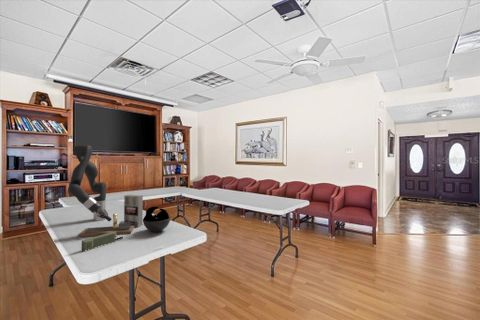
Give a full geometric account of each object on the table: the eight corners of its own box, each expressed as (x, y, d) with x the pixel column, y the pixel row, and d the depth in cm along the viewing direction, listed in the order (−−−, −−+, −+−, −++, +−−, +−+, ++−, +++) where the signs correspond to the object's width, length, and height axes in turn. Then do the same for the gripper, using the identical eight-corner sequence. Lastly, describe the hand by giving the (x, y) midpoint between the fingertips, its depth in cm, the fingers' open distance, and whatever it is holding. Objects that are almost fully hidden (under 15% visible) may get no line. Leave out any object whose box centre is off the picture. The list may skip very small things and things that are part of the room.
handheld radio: (80, 250, 139) (121, 238, 160) (83, 252, 138) (123, 239, 158) (81, 239, 139) (121, 229, 160) (83, 241, 137) (124, 230, 158)
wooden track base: (85, 231, 174) (85, 226, 174) (134, 227, 183) (134, 223, 183) (78, 237, 161) (78, 232, 161) (130, 233, 170) (130, 228, 170)
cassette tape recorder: (123, 226, 188) (123, 195, 188) (128, 223, 194) (128, 194, 194) (137, 227, 185) (137, 196, 185) (142, 225, 191) (142, 195, 191)
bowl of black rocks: (143, 228, 183) (143, 204, 182) (169, 226, 190) (169, 203, 189) (142, 236, 164) (142, 210, 164) (171, 233, 171) (171, 208, 171)
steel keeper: (120, 227, 177) (120, 221, 177) (130, 227, 179) (130, 220, 179) (118, 230, 171) (118, 223, 171) (129, 229, 173) (129, 223, 173)
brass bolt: (113, 228, 174) (113, 213, 174) (125, 227, 177) (125, 212, 177) (112, 229, 172) (112, 214, 171) (124, 229, 174) (124, 213, 174)
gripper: (93, 203, 163) (112, 219, 167) (99, 199, 176) (116, 214, 180) (84, 210, 162) (104, 226, 166) (91, 206, 175) (109, 221, 178)
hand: (110, 220), depth 173 cm, fingers closed
